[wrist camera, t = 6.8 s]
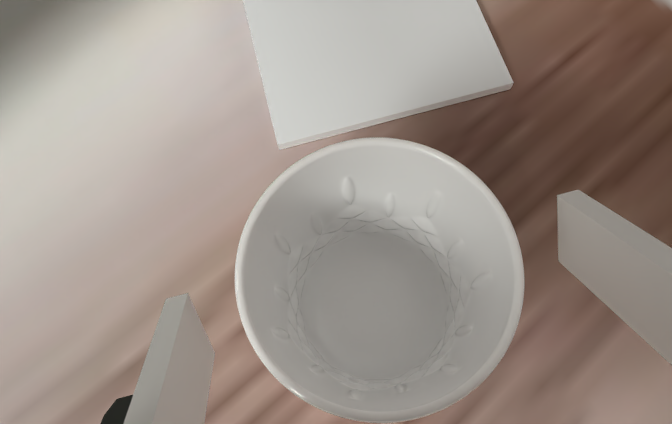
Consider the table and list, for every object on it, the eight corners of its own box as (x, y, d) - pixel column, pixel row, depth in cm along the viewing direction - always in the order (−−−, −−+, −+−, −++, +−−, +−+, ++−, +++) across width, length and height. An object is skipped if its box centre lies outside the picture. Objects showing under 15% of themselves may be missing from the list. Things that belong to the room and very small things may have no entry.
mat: (279, 149, 25) (277, 144, 25) (236, -30, 30) (233, -37, 29) (510, 89, 26) (513, 82, 25) (434, -80, 30) (435, -88, 29)
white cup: (264, 275, 23) (192, 209, 14) (404, 204, 24) (428, 95, 14) (336, 432, 21) (310, 485, 11) (490, 347, 21) (587, 329, 12)
